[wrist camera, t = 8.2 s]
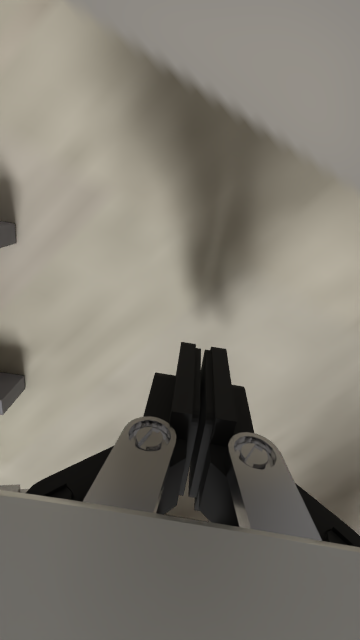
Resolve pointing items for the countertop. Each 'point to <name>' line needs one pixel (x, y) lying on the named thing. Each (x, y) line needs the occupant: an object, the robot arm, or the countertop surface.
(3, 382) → the grey blocks
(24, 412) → the countertop surface
